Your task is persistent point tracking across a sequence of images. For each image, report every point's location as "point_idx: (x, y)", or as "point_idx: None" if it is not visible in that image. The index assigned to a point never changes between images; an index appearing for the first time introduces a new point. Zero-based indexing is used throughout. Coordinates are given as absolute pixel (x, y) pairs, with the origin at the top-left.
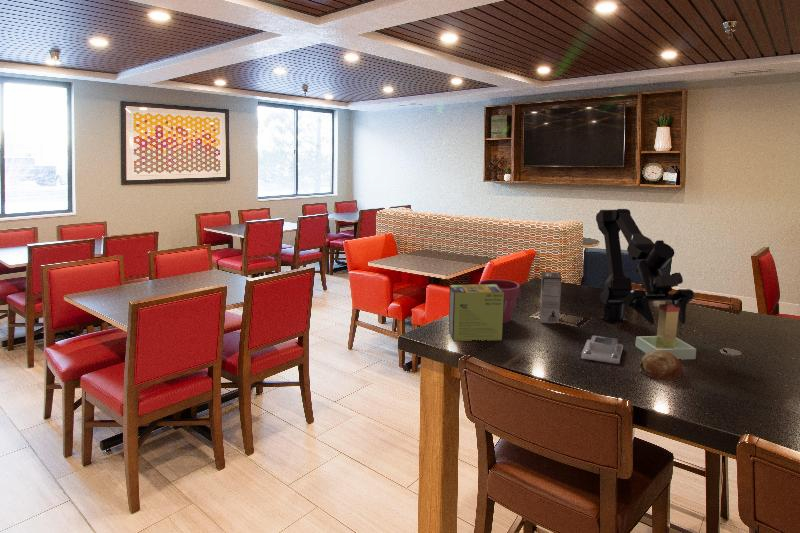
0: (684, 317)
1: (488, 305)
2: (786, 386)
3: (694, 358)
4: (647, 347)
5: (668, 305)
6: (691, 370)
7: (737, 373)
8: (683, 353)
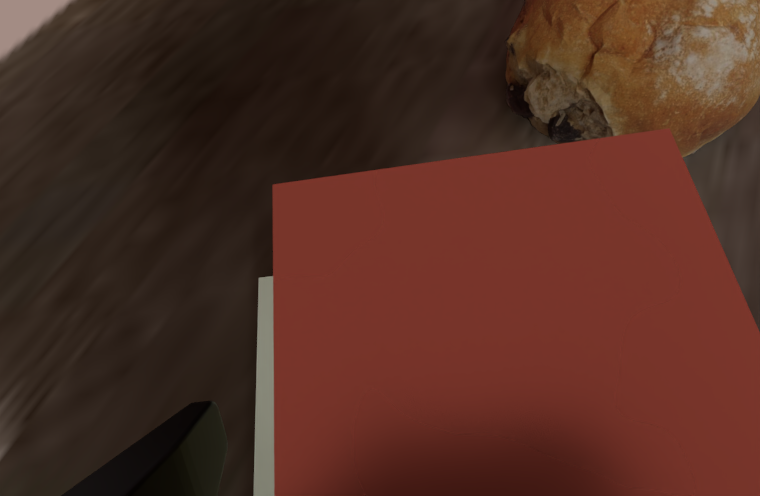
0: (147, 443)
1: None
2: (88, 6)
3: None
4: None
5: (521, 421)
6: (414, 127)
7: (186, 111)
8: None
